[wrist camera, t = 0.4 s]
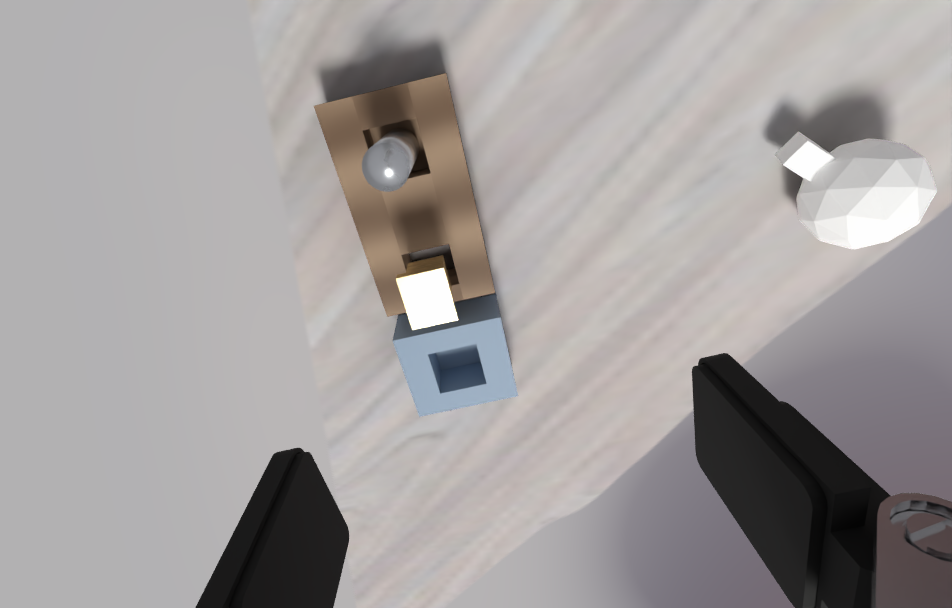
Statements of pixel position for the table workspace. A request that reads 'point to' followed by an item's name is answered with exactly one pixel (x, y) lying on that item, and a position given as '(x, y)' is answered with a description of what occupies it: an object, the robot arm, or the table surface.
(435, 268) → the key
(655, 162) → the table surface
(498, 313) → the blue square hole block
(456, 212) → the socket block
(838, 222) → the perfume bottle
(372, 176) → the steel peg
